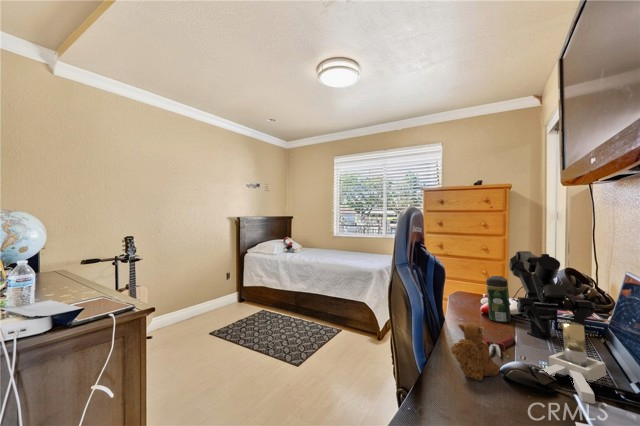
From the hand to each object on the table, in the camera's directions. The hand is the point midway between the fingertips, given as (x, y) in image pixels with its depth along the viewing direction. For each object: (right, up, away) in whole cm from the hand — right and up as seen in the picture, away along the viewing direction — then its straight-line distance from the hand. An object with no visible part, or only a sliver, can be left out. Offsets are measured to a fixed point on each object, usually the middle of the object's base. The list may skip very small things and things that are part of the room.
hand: (563, 333), depth 81 cm
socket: (-7, -8, -11) cm, 15 cm away
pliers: (-14, -10, +13) cm, 22 cm away
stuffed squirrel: (-29, -9, -5) cm, 31 cm away
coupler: (-2, -8, -7) cm, 11 cm away
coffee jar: (+5, -11, +36) cm, 38 cm away
